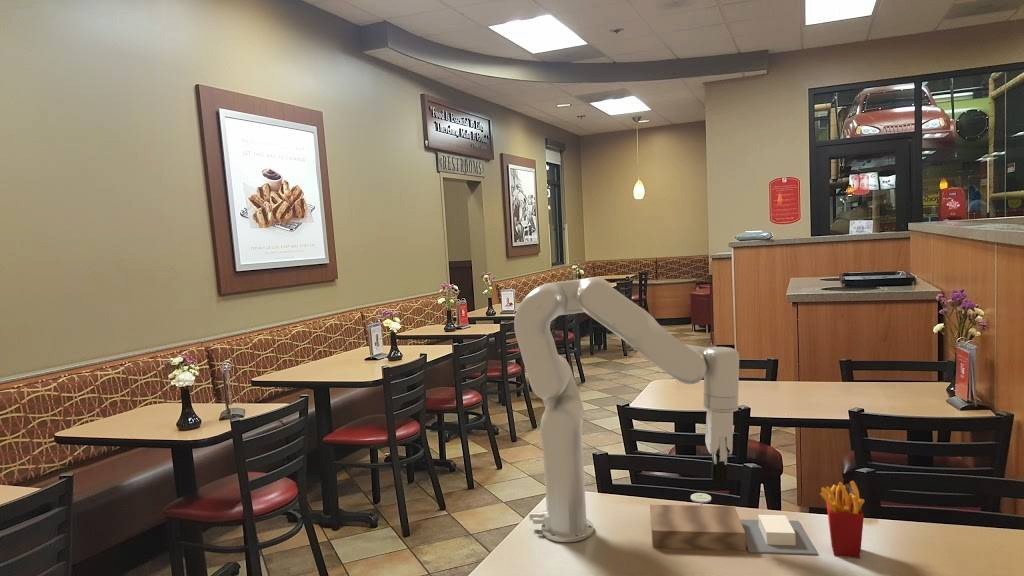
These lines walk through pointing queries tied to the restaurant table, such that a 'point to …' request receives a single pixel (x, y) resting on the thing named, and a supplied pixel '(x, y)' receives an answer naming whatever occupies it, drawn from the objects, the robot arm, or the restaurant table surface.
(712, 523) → the board
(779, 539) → the cream rectangular block
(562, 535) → the robot arm
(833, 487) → the french fries
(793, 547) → the mat
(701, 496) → the sign
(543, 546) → the restaurant table surface
